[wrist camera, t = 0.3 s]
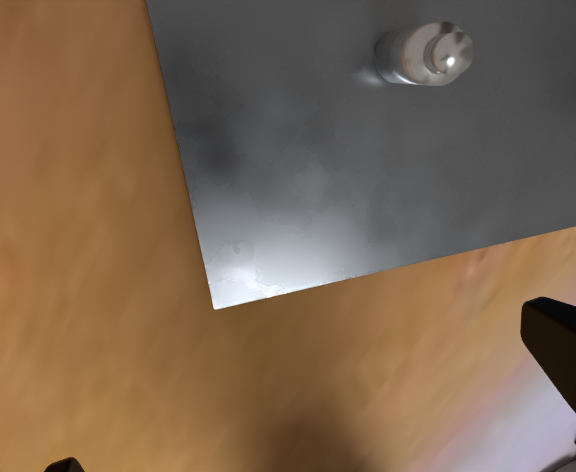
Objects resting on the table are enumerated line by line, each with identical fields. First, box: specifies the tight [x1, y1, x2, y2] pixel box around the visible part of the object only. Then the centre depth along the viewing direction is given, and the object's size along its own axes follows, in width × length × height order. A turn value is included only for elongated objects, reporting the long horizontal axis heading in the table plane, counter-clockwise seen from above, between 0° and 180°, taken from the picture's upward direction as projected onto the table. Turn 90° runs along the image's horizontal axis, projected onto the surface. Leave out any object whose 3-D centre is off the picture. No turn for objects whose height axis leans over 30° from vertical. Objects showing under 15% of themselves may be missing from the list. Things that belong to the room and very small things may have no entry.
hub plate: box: [146, 0, 576, 310], centre depth 19 cm, size 20×20×6 cm
